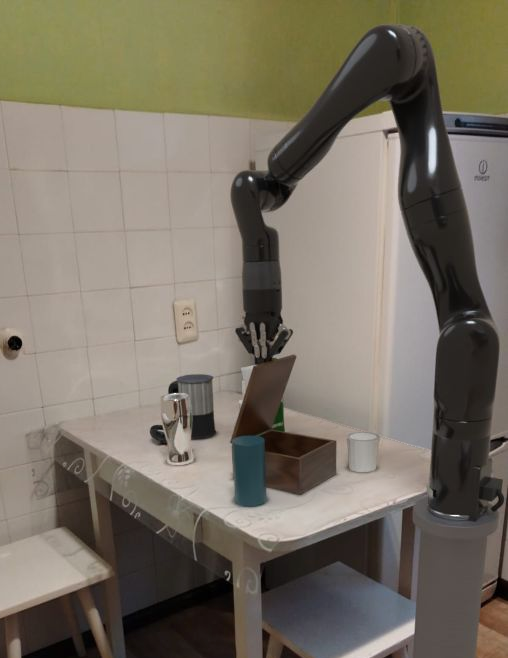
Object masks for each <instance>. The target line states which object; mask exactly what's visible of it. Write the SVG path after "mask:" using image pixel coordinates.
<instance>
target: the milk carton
mask: <svg viewBox="0 0 508 658" xmlns="http://www.w3.org/2000/svg"><path fill="white" fill-rule="evenodd" d="M276 359H278V358H277V357H272V361H273V360H276ZM256 365H257V364H252V365H249V366H243V367H240V370H241V375H242V379H243V381H244V383H245V392H246V389H247V386H248V382H249V379H250V376H251V373H252V369H253V366H256ZM284 407H285V406H284V396H283V397H282V400H281V403H280V406H279V409H278V412H277V415H276V417H275V420H274V423H273V426H272V428H271V429H272V430H277V431H283V432H286V429H285V416H284V415H285V413H284V412H285V411H284ZM268 430H270V429H268ZM268 430H266V431H268ZM264 432H265V431H264ZM261 433H263V432H261ZM261 433H259V434H261ZM256 435H258V434H256ZM256 435H254V436H256Z"/></svg>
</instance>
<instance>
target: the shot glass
mask: <svg viewBox="0 0 508 658" xmlns="http://www.w3.org/2000/svg"><path fill="white" fill-rule="evenodd" d="M380 439H381V437H380V434H377V433H375V432H369V431H357V432H351V433H348V434H347V435H346V446H347V458H348V469H349V470H351V472H352V471H353V472H355V473H356V472H357V473H371V472H374V471H375V470H376V469H377V463H378V457H379V456H378V455H379V447H380Z"/></svg>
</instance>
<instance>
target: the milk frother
mask: <svg viewBox="0 0 508 658" xmlns="http://www.w3.org/2000/svg"><path fill="white" fill-rule="evenodd" d="M213 379H214V376H213V375H211V374H206V373H205V374H203V373H194V374H192V373H191V374H184V375H180V376H178V377H176V380H174V381H172V382H171V383H170V384H169V385H168V389H167V390H168V391H167V394H171V393H186V394H189V395H190V400H191V406H192V416H193V423H192V434H191V440H201V439H207V438H211V437H213V436H215V435H216V434H217V431H216V425H215V413H214V411H215V409H214V390H213V389H214V385H213ZM149 435H150V436H151V438H153V439H154V441H157V442H159V443H160V444H162V443H166V444H167V441H166V437H165V433H164V430H163V425H162V424H153V425H152V426H151V427H150V428H149Z"/></svg>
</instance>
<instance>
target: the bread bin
mask: <svg viewBox="0 0 508 658" xmlns="http://www.w3.org/2000/svg"><path fill="white" fill-rule="evenodd" d="M256 436H259V437H262V438H264V440H265V469H266V488H268V489H269V488H270V489H273V490H277V491H282V492H286V493H290V494H294V495H298V496H301V495H303V494H305V493H306V492H308V491H309V490H311V489H314V488H315V487H316V486H319V485H320V484H322V483H323V482H325V481H327V480H329V479H330V478H332V477H334V476H335V475H337V440H335V439H330V438H325V437H317V436H311V435H305V434H301V433H295V432H290V431H285V432H283V431H277V430H272V429H270V430H268V431H265V432H263V433H261V434H258V435H256ZM231 460H232V461H231V462H232V464H233V453H232V452H231ZM232 477H233V478H232V479H233V480H234V472H233V471H232Z"/></svg>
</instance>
